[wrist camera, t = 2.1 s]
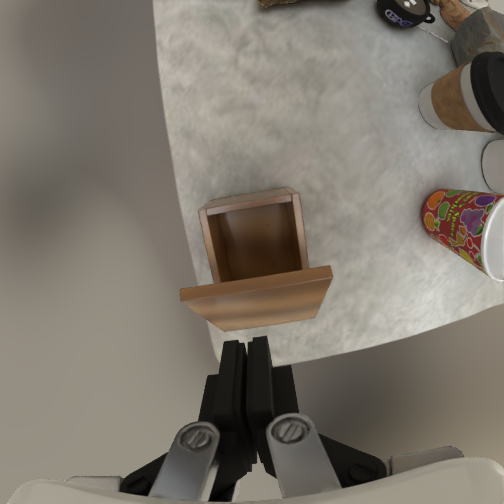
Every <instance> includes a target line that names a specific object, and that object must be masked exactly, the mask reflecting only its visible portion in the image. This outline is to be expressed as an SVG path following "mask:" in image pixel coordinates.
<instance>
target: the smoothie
mask: <svg viewBox="0 0 504 504" xmlns="http://www.w3.org/2000/svg"><path fill="white" fill-rule="evenodd" d="M422 218H423V223H424V226H425V229H426V231H427V232H428V234H429V236H430V237H431V238H433V239H434V240H435V241H437V242H438V243H440V244H442V245H443V246H445V247H446V248H448V249H449V250H451V251H452V252H454V253H456V254H457V255H459V256H460V257H462V258H463V259H465V260H466V261H467V262H469V263H470V264H472V265H473V266H475V267H476V268H478V269H479V270H481V271H482V272H483V273H485V274H486V275H488V276H489V277H490V278H491V279H492V280H494V281H497V282H503V281H504V195H501V194H493V193H484V192H474V191H464V190H452V189H441V190H438V191H436V192H435V193H434V194H432V195H431V196H430V197H429V198H428V199H427V201H426V202H425V204H424V208H423V215H422Z"/></svg>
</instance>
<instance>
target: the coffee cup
mask: <svg viewBox="0 0 504 504" xmlns="http://www.w3.org/2000/svg"><path fill="white" fill-rule="evenodd" d="M418 104H419V109H420V112H421V114H422V116H423V118H424V119H425V121H426V122H427V123H428V124H429V125H431V126H432V127H434V128H436V129H455V130H467V131H480V132H491V133H494V132H498V133H500V134H502V135H504V53H502V52H498V51H495V52H487V51H486V52H482V53H481V54H478V55H477V56H475V57H474V59H473V60H472V61H470V62H467V63H465V64H463V65H462V66H460V67H458V68H457V69H455V70H453V71H451V72H450V73H448V74H446V75H445V76H443V77H441V78H440V79H438V80H437V81H435V82H433V83H432V84H430V85H428V86H426V87H425V88H423V89H422V91H421V92H420V94H419V98H418Z"/></svg>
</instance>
